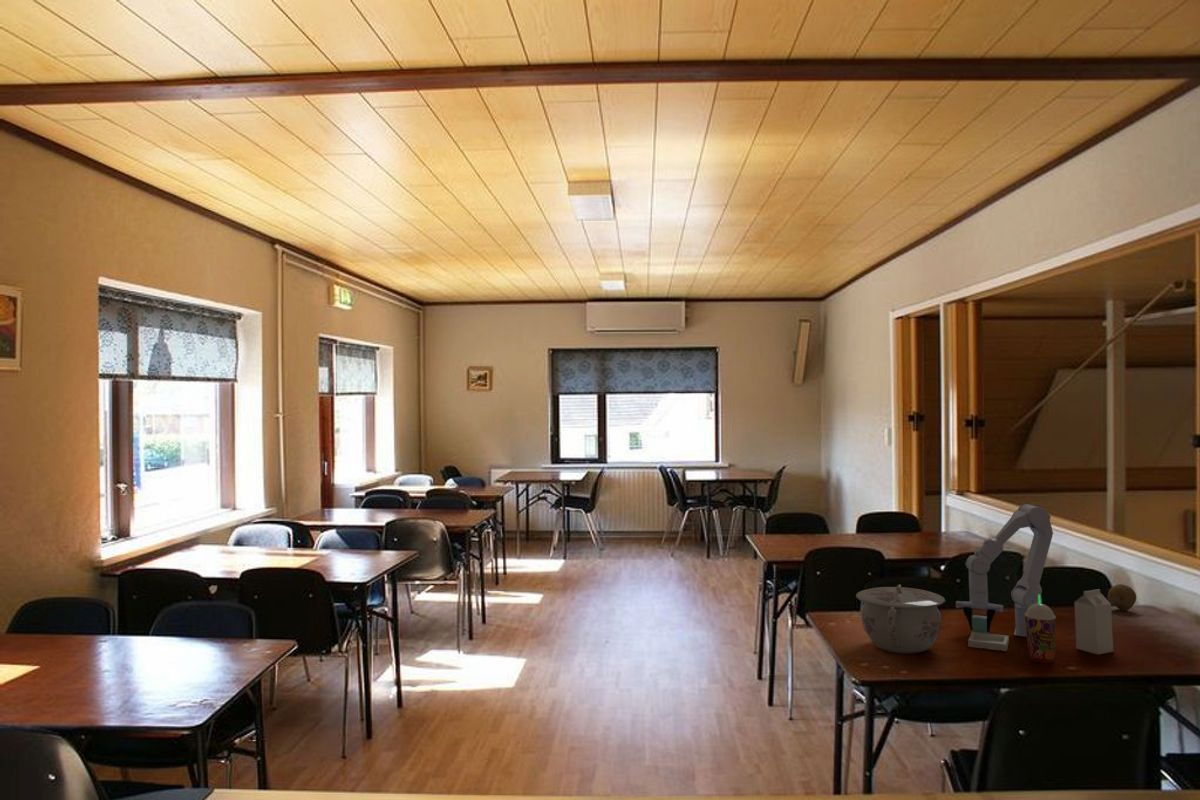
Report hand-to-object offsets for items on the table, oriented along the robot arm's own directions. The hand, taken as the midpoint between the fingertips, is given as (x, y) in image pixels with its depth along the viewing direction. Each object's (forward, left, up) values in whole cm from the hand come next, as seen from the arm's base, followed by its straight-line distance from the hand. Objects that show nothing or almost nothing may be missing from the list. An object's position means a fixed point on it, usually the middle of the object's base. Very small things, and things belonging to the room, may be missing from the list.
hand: (980, 630), depth 265 cm
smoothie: (-19, +22, -2) cm, 29 cm away
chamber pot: (+21, +27, -2) cm, 34 cm away
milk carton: (-33, +4, -2) cm, 33 cm away
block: (0, 0, -1) cm, 1 cm away
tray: (-3, +11, -1) cm, 12 cm away
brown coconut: (-43, -56, -2) cm, 71 cm away
